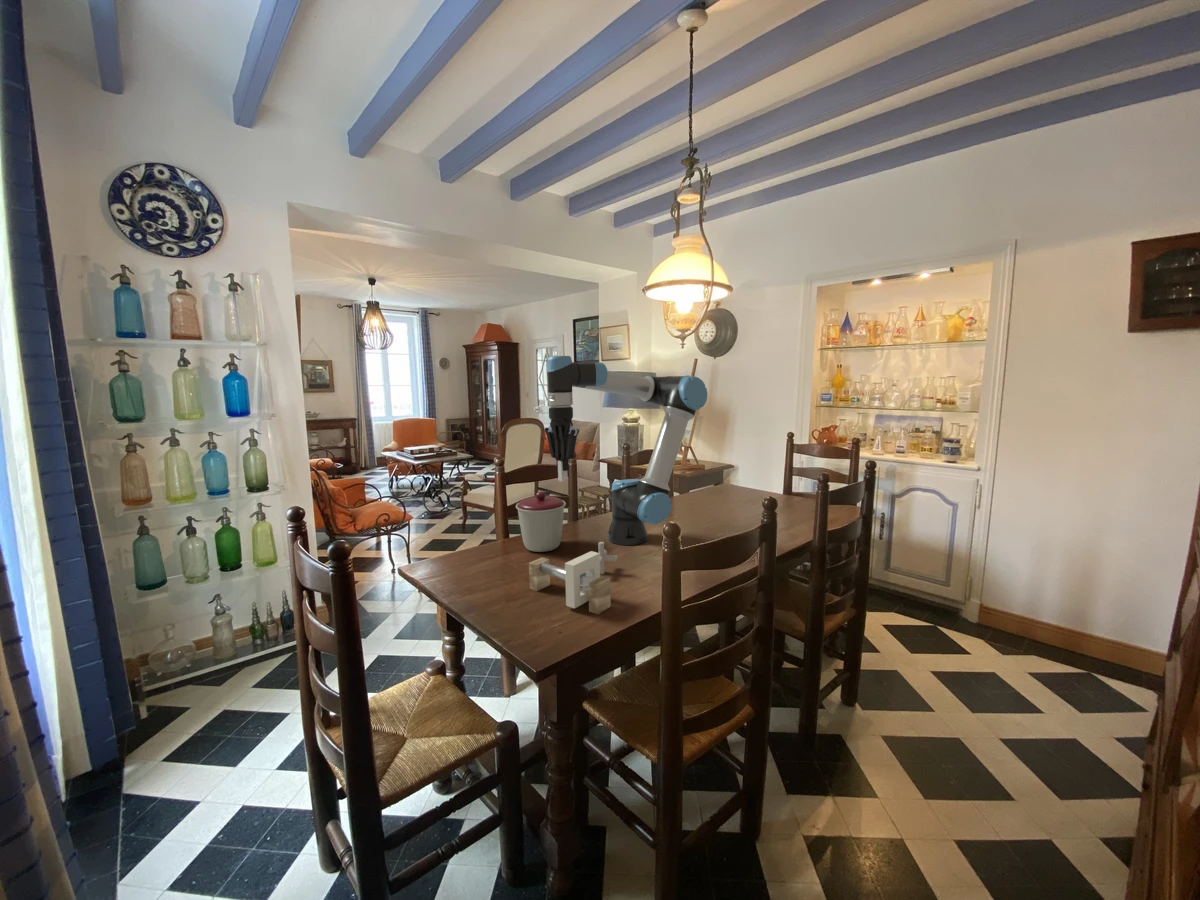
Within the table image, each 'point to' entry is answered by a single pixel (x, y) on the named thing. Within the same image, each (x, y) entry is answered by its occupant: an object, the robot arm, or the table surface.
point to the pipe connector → (604, 557)
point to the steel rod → (563, 573)
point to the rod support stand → (597, 587)
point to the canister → (541, 522)
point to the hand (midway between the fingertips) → (563, 480)
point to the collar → (572, 577)
